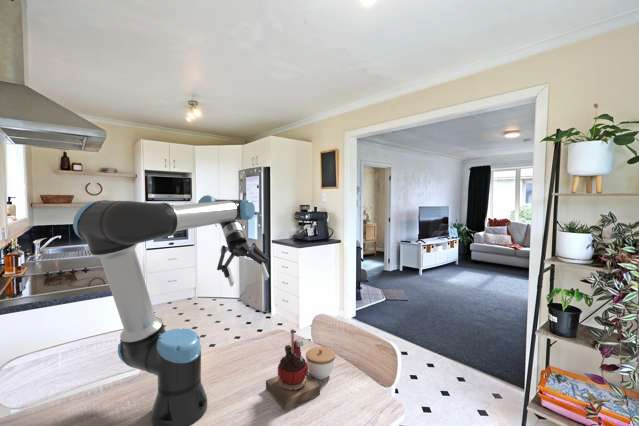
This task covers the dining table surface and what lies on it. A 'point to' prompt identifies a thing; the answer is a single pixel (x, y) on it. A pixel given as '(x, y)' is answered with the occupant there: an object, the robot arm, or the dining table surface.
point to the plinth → (292, 392)
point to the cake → (292, 366)
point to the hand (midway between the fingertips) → (250, 281)
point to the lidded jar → (320, 362)
